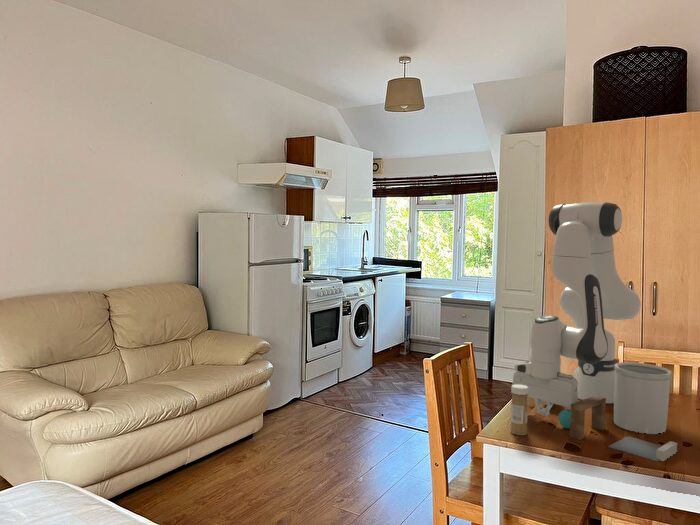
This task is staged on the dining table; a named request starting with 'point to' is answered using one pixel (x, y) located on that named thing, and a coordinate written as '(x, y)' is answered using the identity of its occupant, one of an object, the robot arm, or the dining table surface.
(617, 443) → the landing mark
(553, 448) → the dining table surface
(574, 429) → the bridge
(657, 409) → the utensil holder
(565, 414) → the ball
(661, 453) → the stopper wall
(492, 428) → the dining table surface
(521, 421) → the sprinkles bottle
